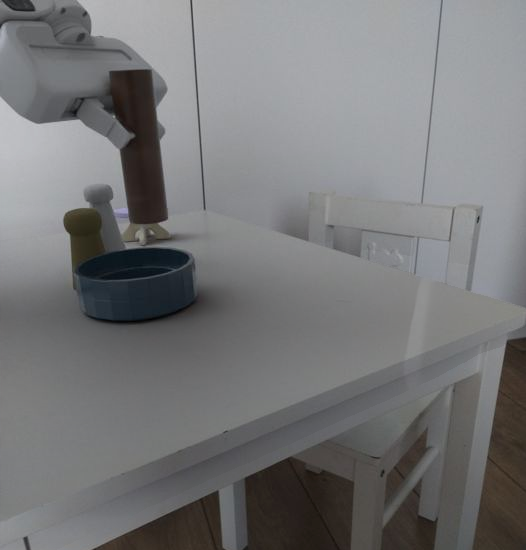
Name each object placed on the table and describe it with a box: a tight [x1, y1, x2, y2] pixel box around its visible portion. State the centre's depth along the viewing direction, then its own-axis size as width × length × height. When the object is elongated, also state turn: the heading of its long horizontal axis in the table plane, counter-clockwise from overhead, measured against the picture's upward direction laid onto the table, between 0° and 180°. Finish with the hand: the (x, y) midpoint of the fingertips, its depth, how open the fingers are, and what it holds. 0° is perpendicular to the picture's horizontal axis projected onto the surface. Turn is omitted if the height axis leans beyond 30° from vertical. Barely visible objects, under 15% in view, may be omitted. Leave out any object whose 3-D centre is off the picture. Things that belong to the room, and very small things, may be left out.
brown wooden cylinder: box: [109, 69, 169, 224], centre depth 56 cm, size 4×4×14 cm
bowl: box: [73, 246, 199, 322], centre depth 75 cm, size 15×15×6 cm
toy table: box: [113, 207, 171, 247], centre depth 106 cm, size 10×9×6 cm
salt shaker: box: [82, 183, 127, 252], centre depth 88 cm, size 6×6×13 cm
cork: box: [62, 207, 106, 291], centre depth 81 cm, size 6×6×11 cm
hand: (144, 140), depth 56 cm, fingers closed on brown wooden cylinder, 4 cm apart
